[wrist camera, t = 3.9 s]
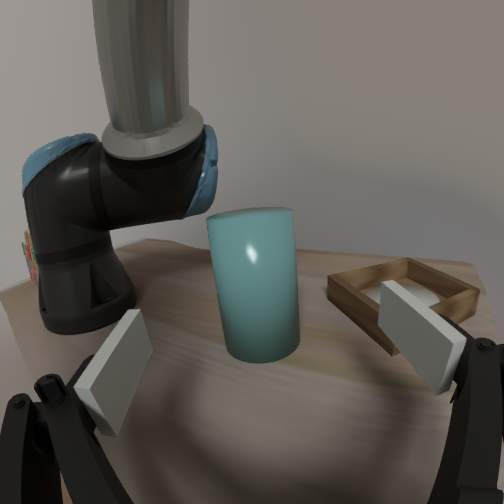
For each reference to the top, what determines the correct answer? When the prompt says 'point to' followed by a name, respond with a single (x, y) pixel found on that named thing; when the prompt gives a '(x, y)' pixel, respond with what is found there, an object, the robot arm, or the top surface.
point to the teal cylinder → (256, 281)
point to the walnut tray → (402, 272)
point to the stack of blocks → (30, 257)
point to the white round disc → (418, 292)
